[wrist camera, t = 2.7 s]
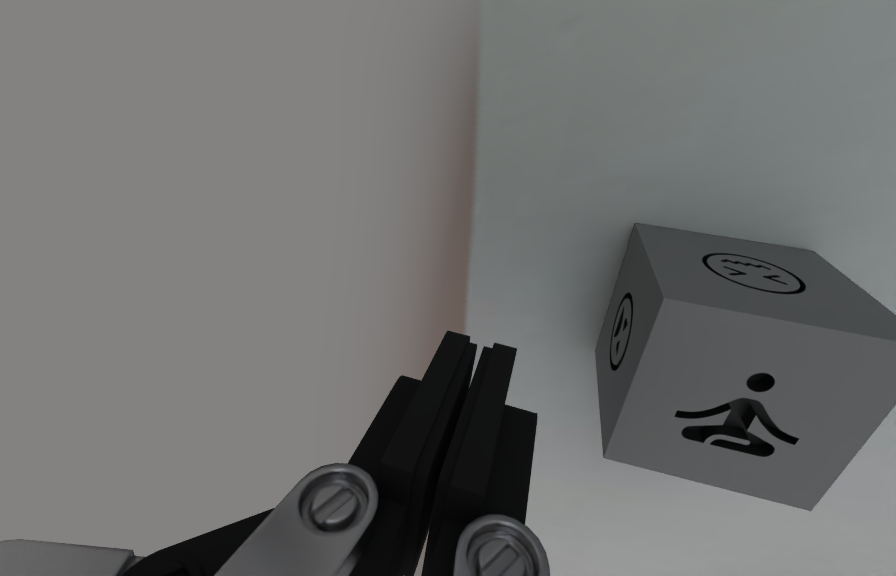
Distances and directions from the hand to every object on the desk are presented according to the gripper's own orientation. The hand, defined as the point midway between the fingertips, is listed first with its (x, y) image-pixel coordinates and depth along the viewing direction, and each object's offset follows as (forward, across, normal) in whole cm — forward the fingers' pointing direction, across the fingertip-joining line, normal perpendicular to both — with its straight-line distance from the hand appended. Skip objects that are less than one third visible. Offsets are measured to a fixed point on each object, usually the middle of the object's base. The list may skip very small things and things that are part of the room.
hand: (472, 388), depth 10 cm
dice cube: (+6, -6, -1) cm, 9 cm away
